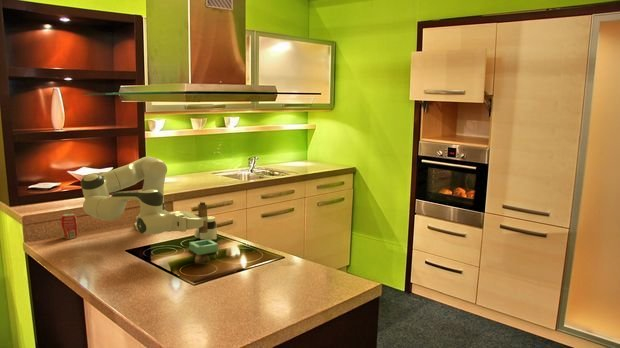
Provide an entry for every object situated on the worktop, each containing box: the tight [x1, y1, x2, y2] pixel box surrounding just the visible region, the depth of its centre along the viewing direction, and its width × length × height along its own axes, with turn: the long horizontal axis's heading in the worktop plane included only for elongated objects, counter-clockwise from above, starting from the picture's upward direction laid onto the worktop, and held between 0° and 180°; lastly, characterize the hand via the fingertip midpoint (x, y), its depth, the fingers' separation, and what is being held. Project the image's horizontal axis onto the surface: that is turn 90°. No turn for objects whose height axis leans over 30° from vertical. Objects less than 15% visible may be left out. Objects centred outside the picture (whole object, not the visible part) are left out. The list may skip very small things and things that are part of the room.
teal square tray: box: [188, 239, 219, 256], centre depth 230 cm, size 10×10×4 cm
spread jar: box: [194, 215, 218, 242], centre depth 246 cm, size 12×11×12 cm
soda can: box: [60, 212, 79, 240], centre depth 248 cm, size 7×7×12 cm
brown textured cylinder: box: [197, 201, 208, 233], centre depth 227 cm, size 4×4×14 cm
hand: (204, 216), depth 228 cm, fingers closed on brown textured cylinder, 4 cm apart
